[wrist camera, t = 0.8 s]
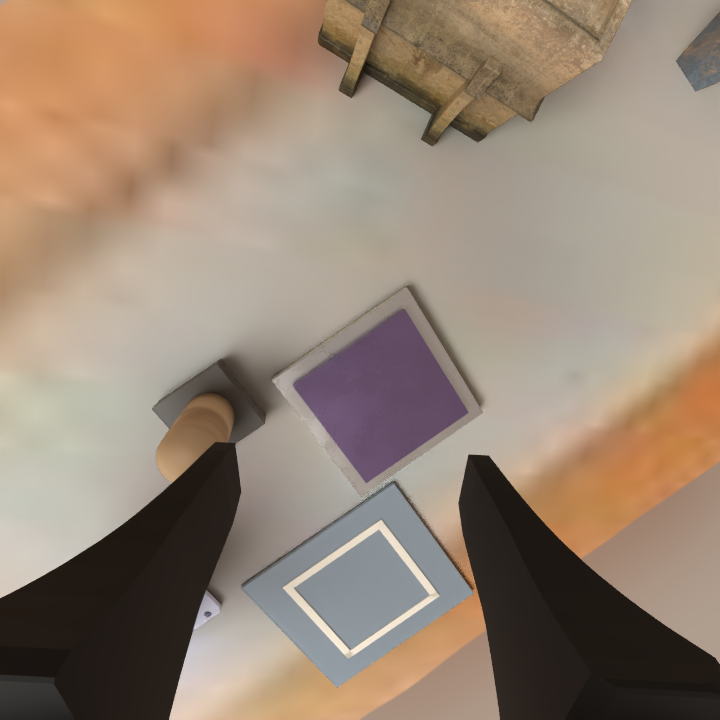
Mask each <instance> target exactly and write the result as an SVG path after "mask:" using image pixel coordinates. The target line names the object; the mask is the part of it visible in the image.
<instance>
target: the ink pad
mask: <svg viewBox="0 0 720 720" xmlns="http://www.w3.org/2000/svg"><path fill="white" fill-rule="evenodd" d="M272 382H273V383H274V384H275V386H276V387H277V388H278V390H279V391H280V392H281V393H282V395H283V396H284V397H285V399H286V400H287V401H288V403H289V404H290V405H291V406H292V408H293V409H294V410H295V412H296V413H297V414H298V416H299V417H300V418H301V419H302V421H303V422H304V423H305V425H306V426H307V427H308V429H309V430H310V431H311V432H312V434H313V435H314V436H315V438H316V439H317V440H318V442H319V443H320V444H321V445H322V447H323V448H324V449H325V451H326V452H327V453H328V455H329V456H330V457H331V459H332V460H333V461H334V462H335V464H336V465H337V466H338V468H339V469H340V470H341V472H342V473H343V474H344V475H345V477H346V478H347V479H348V481H349V482H350V483H351V485H352V486H353V487H354V488H355V490H356V491H357V492H358V494H359V495H360V496H362V495H364V494H365V493H367V492H368V491H370V490H371V489H373V488H374V487H375V486H377V485H378V484H380V483H381V482H383V481H384V480H386V479H387V478H389V477H390V476H392V475H393V474H394V473H396V472H397V471H399V470H400V469H402V468H403V467H405V466H406V465H408V464H409V463H410V462H412V461H413V460H415V459H416V458H418V457H419V456H421V455H422V454H424V453H425V452H426V451H428V450H429V449H431V448H432V447H434V446H435V445H437V444H438V443H440V442H441V441H442V440H444V439H445V438H447V437H448V436H450V435H451V434H453V433H454V432H456V431H457V430H458V429H460V428H461V427H463V426H464V425H466V424H467V423H469V422H470V421H472V420H473V419H474V418H476V417H477V416H479V415H480V414H482V413H483V412H482V410H481V408H480V407H479V405H478V403H477V402H476V400H475V398H474V397H473V395H472V393H471V392H470V390H469V388H468V387H467V385H466V383H465V382H464V380H463V379H462V377H461V375H460V374H459V372H458V370H457V369H456V367H455V365H454V364H453V362H452V360H451V359H450V357H449V355H448V354H447V352H446V350H445V349H444V347H443V346H442V344H441V342H440V341H439V339H438V337H437V336H436V334H435V332H434V331H433V329H432V327H431V326H430V324H429V322H428V321H427V319H426V317H425V316H424V314H423V313H422V311H421V309H420V308H419V306H418V304H417V303H416V301H415V299H414V298H413V296H412V294H411V293H410V291H409V289H408V288H406V287H404V288H402V289H401V290H400V291H398V292H397V293H395V294H394V295H392V296H391V297H389V298H388V299H386V300H385V301H383V302H382V303H381V304H379V305H378V306H376V307H375V308H373V309H372V310H370V311H369V312H367V313H366V314H364V315H363V316H362V317H360V318H359V319H357V320H356V321H354V322H353V323H351V324H350V325H348V326H347V327H345V328H344V329H343V330H341V331H340V332H338V333H337V334H335V335H334V336H332V337H331V338H329V339H328V340H326V341H325V342H324V343H322V344H321V345H319V346H318V347H316V348H315V349H313V350H312V351H310V352H309V353H307V354H306V355H305V356H303V357H302V358H300V359H299V360H297V361H296V362H294V363H293V364H291V365H290V366H288V367H287V368H286V369H284V370H283V371H281V372H280V373H278V374H277V375H275V376H274V377H272Z"/></svg>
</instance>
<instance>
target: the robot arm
mask: <svg viewBox="0 0 720 720" xmlns="http://www.w3.org/2000/svg"><path fill="white" fill-rule="evenodd" d="M240 494H241V486H240V478H239V471H238V463H237V455H236V448H235V443H226V442H215V443H214V444H212V445H211V446H210V447H209V448H208V449H207V450H206V451H205V452H204V453H203V454H202V455H201V456H200V457H199V458H198V459H197V460H196V461H195V462H194V463H193V464H192V465H191V466H190V467H189V468H188V469H187V470H186V471H184V472H183V473H182V474H181V475H180V476H179V477H178V478H177V479H176V480H175V481H174V482H173V483H172V484H170V485H169V486H168V487H167V488H166V489H165V490H164V491H163V492H162V493H161V494H159V495H158V496H157V497H156V498H155V499H153V500H152V501H151V502H150V503H149V504H148V505H146V506H145V507H144V508H143V509H142V510H140V511H139V512H138V513H137V514H136V515H134V516H133V517H132V518H130V519H129V520H128V521H127V522H125V523H124V524H123V525H121V526H120V527H119V528H117V529H116V530H114V531H113V532H112V533H110V534H109V535H107V536H106V537H105V538H103V539H102V540H100V541H99V542H97V543H96V544H94V545H92V546H91V547H89V548H88V549H86V550H85V551H83V552H82V553H80V554H78V555H77V556H75V557H74V558H72V559H71V560H69V561H68V562H66V563H64V564H63V565H61V566H59V567H57V568H56V569H54V570H52V571H51V572H49V573H47V574H45V575H44V576H42V577H40V578H38V579H36V580H35V581H33V582H31V583H29V584H27V585H25V586H24V587H22V588H20V589H18V590H16V591H14V592H12V593H10V594H8V595H6V596H4V597H2V598H0V720H169V717H170V713H171V709H172V705H173V701H174V697H175V693H176V689H177V686H178V682H179V678H180V675H181V671H182V667H183V664H184V660H185V657H186V653H187V649H188V646H189V642H190V639H191V635H192V632H193V631H194V630H195V629H197V628H198V627H200V626H201V625H203V624H204V623H206V622H207V621H208V620H210V619H211V618H213V617H214V616H216V615H217V614H218V613H219V612H220V610H221V605H220V603H219V602H218V601H217V600H216V599H215V598H214V597H213V596H212V595H211V594H210V593H209V592H208V591H207V590H206V589H207V587H208V584H209V582H210V579H211V577H212V574H213V572H214V569H215V567H216V564H217V562H218V559H219V557H220V554H221V552H222V550H223V547H224V544H225V542H226V539H227V537H228V534H229V532H230V529H231V527H232V524H233V521H234V517H235V514H236V510H237V506H238V502H239V498H240ZM459 510H460V518H461V525H462V532H463V537H464V541H465V545H466V549H467V553H468V556H469V560H470V564H471V568H472V572H473V575H474V579H475V583H476V587H477V590H478V594H479V598H480V602H481V606H482V610H483V614H484V619H485V623H486V629H487V635H488V641H489V646H490V653H491V659H492V666H493V672H494V679H495V686H496V692H497V699H498V706H499V713H500V720H720V664H719V663H718V661H717V660H716V658H715V657H713V656H712V655H710V654H708V653H707V652H705V651H704V650H702V649H701V648H699V647H698V646H696V645H694V644H693V643H691V642H690V641H688V640H687V639H685V638H684V637H682V636H680V635H679V634H677V633H676V632H674V631H672V630H671V629H670V628H668V627H667V626H665V625H664V624H662V623H661V622H660V621H658V620H657V619H655V618H654V617H652V616H651V615H650V614H648V613H647V612H646V611H644V610H643V609H641V608H640V607H639V606H637V605H636V604H635V603H633V602H632V601H631V600H629V599H628V598H627V597H625V596H624V595H623V594H621V593H620V592H619V591H618V590H616V589H615V588H614V587H613V586H612V585H610V584H609V583H608V582H607V581H605V580H604V579H603V578H602V577H600V576H599V575H598V574H597V573H596V572H595V571H593V570H592V569H591V568H590V567H589V566H588V565H586V564H585V563H584V562H583V561H582V560H581V559H580V558H579V557H578V556H577V555H576V554H575V553H573V552H572V551H571V550H570V549H569V548H568V547H567V546H566V545H565V544H564V543H563V542H562V541H561V540H560V539H559V538H558V537H557V536H556V535H555V534H554V533H553V532H552V531H551V530H550V529H549V528H548V527H547V526H546V525H545V523H544V522H543V521H542V520H541V519H540V518H539V517H538V516H537V515H536V513H535V512H534V511H533V510H532V509H531V508H530V506H529V505H528V504H527V503H526V502H525V501H524V499H523V498H522V497H521V496H520V495H519V493H518V492H517V491H516V490H515V488H514V487H513V486H512V485H511V483H510V482H509V481H508V480H507V478H506V477H505V476H504V475H503V473H502V472H501V471H500V469H499V468H498V467H497V466H496V464H495V463H494V462H493V460H492V459H491V458H490V457H489V456H486V455H468V460H467V464H466V469H465V474H464V479H463V484H462V488H461V493H460V498H459ZM207 611H209V612H211V613H207Z"/></svg>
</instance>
